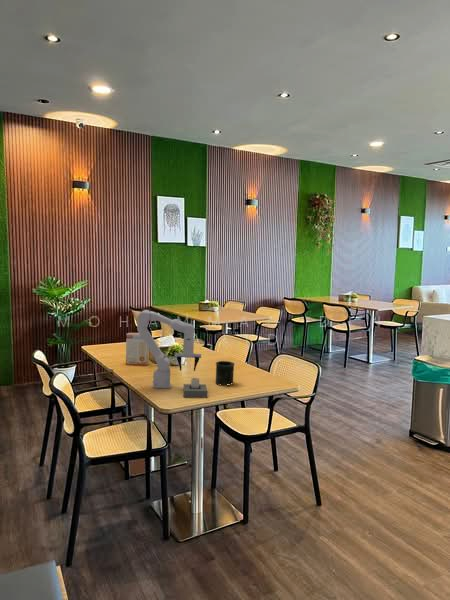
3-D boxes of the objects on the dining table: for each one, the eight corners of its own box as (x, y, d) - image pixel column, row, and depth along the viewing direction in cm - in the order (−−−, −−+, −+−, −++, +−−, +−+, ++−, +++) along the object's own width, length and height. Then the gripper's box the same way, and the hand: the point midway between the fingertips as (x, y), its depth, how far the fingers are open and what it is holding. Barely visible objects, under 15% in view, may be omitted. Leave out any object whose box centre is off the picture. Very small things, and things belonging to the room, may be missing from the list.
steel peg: (191, 395, 236) (191, 380, 235) (190, 392, 240) (191, 378, 239) (198, 395, 236) (199, 380, 236) (198, 392, 240) (198, 378, 239)
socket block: (183, 397, 231) (183, 390, 231) (183, 390, 243) (183, 384, 243) (206, 397, 232) (207, 390, 232) (205, 390, 244) (205, 384, 244)
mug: (220, 387, 252) (221, 366, 251) (208, 380, 265) (209, 360, 264) (237, 385, 258) (238, 364, 257) (224, 378, 270) (225, 359, 269)
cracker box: (148, 364, 300) (149, 333, 298) (146, 366, 294) (147, 334, 292) (128, 362, 301) (129, 332, 299) (125, 364, 295) (126, 333, 293)
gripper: (175, 347, 244) (174, 371, 245) (201, 348, 245) (200, 372, 246) (175, 344, 251) (174, 368, 252) (201, 345, 252) (200, 369, 253)
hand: (187, 370), depth 250 cm, fingers open, 7 cm apart
